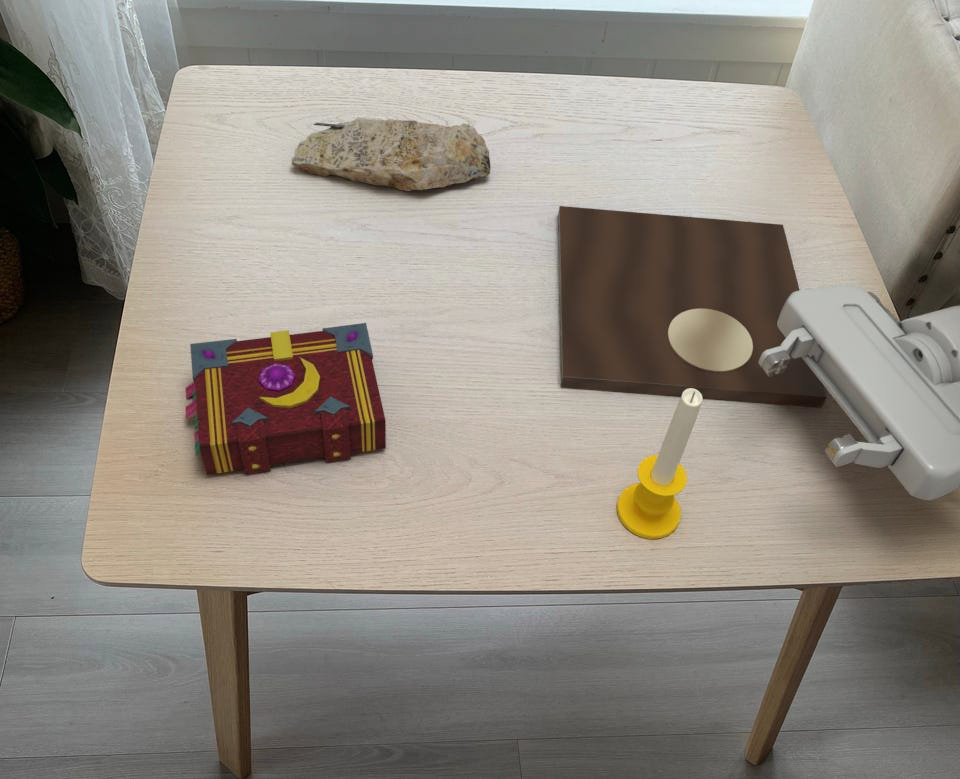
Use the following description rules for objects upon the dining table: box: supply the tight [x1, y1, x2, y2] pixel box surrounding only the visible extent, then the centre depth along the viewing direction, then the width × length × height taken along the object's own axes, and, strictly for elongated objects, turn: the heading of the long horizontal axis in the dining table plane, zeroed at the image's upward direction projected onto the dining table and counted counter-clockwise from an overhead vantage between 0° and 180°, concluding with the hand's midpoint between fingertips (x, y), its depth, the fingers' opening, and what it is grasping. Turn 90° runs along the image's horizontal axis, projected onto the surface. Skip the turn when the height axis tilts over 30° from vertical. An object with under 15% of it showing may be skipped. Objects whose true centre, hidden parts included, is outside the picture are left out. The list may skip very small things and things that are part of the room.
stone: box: [291, 117, 492, 192], centre depth 103 cm, size 21×6×10 cm
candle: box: [616, 388, 703, 540], centre depth 72 cm, size 5×5×16 cm
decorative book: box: [184, 322, 387, 476], centre depth 80 cm, size 11×16×5 cm
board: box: [557, 205, 828, 408], centre depth 94 cm, size 24×24×2 cm
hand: (797, 407), depth 74 cm, fingers open, 8 cm apart
